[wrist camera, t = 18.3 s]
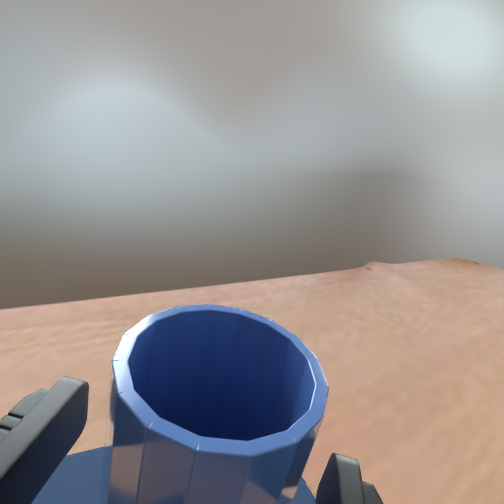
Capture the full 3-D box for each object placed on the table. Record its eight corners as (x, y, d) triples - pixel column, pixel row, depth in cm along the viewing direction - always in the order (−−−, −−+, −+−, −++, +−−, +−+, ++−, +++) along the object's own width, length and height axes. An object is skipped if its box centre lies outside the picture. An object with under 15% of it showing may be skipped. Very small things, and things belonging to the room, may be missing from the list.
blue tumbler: (102, 731, 10) (134, 492, 6) (88, 515, 15) (102, 310, 11) (282, 625, 13) (373, 419, 9) (221, 473, 18) (266, 299, 14)
